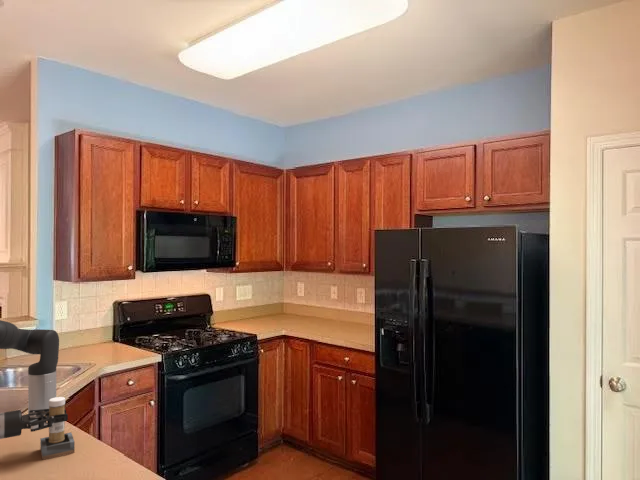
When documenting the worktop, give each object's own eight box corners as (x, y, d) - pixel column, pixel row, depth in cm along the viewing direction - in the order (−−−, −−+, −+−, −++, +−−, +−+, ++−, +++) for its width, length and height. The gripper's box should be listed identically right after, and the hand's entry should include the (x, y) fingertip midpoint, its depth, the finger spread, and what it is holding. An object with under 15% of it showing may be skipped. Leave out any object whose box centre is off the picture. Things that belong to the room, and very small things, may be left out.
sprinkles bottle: (64, 437, 154) (64, 395, 154) (64, 442, 150) (65, 399, 150) (48, 439, 152) (48, 397, 152) (48, 445, 148) (48, 401, 148)
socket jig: (40, 449, 152) (40, 438, 152) (71, 442, 157) (71, 432, 157) (42, 459, 145) (42, 448, 145) (74, 452, 150) (74, 441, 150)
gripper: (3, 420, 137) (69, 409, 147) (3, 406, 149) (64, 396, 159) (2, 446, 137) (69, 433, 147) (2, 430, 149) (64, 419, 159)
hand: (66, 414), depth 153 cm, fingers closed on sprinkles bottle, 4 cm apart
